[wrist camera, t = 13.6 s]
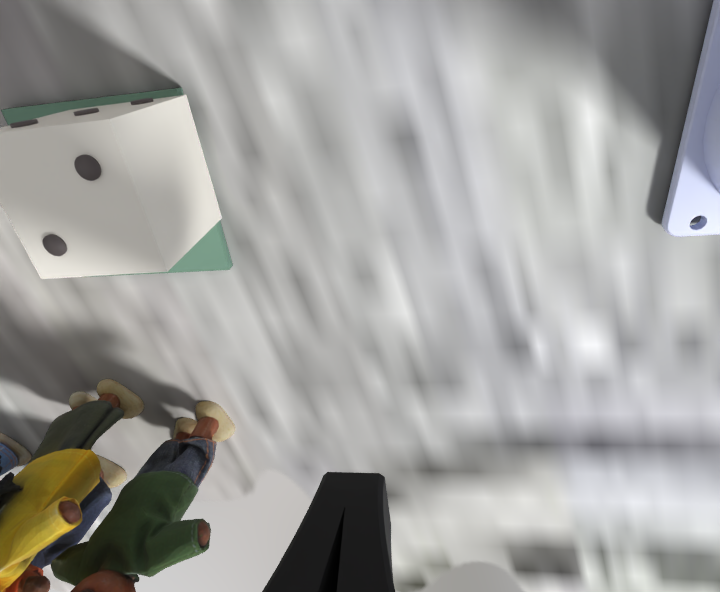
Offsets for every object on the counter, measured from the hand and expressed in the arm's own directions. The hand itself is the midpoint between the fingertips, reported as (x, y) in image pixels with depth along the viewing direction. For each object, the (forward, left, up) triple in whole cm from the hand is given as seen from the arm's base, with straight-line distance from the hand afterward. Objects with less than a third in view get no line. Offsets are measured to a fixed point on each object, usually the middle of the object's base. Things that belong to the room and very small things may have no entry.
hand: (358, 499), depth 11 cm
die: (+8, -6, -10) cm, 14 cm away
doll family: (+19, +9, -10) cm, 23 cm away
